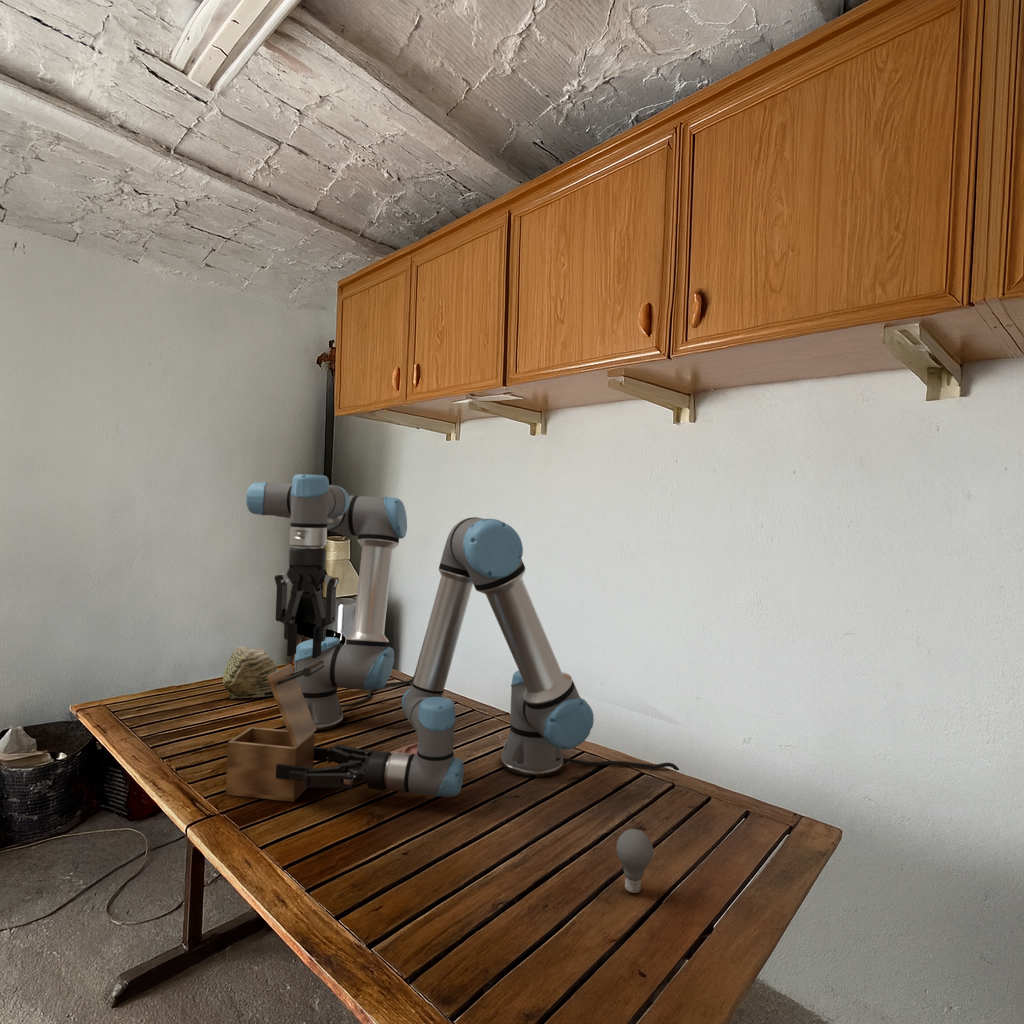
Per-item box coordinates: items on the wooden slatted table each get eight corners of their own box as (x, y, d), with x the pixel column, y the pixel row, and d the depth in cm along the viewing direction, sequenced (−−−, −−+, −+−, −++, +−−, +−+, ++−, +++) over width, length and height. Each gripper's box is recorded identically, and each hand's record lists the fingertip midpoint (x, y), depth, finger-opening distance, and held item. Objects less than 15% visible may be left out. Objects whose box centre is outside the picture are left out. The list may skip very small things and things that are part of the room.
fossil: (218, 695, 195) (220, 647, 195) (278, 685, 208) (279, 640, 207) (228, 703, 189) (230, 653, 188) (289, 692, 201) (290, 645, 201)
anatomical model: (361, 752, 147) (381, 734, 159) (361, 769, 148) (381, 750, 159) (415, 759, 145) (432, 741, 156) (415, 776, 145) (431, 757, 156)
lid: (266, 676, 131) (304, 661, 130) (287, 665, 141) (322, 651, 140) (293, 747, 131) (331, 732, 130) (313, 731, 140) (348, 717, 139)
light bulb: (610, 879, 108) (613, 822, 108) (644, 879, 109) (647, 822, 109) (619, 902, 102) (622, 840, 102) (655, 901, 103) (658, 840, 103)
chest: (225, 794, 133) (227, 742, 133) (249, 775, 142) (251, 726, 142) (293, 802, 131) (295, 748, 131) (312, 782, 140) (314, 732, 140)
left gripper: (259, 546, 132) (255, 656, 133) (341, 550, 130) (337, 663, 130) (276, 543, 140) (273, 648, 140) (355, 547, 137) (350, 654, 138)
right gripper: (370, 814, 122) (261, 802, 125) (403, 767, 144) (309, 758, 147) (372, 775, 122) (262, 764, 125) (405, 734, 144) (311, 726, 147)
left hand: (304, 655), depth 135 cm, fingers open, 5 cm apart
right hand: (288, 761), depth 136 cm, fingers closed on chest, 9 cm apart
